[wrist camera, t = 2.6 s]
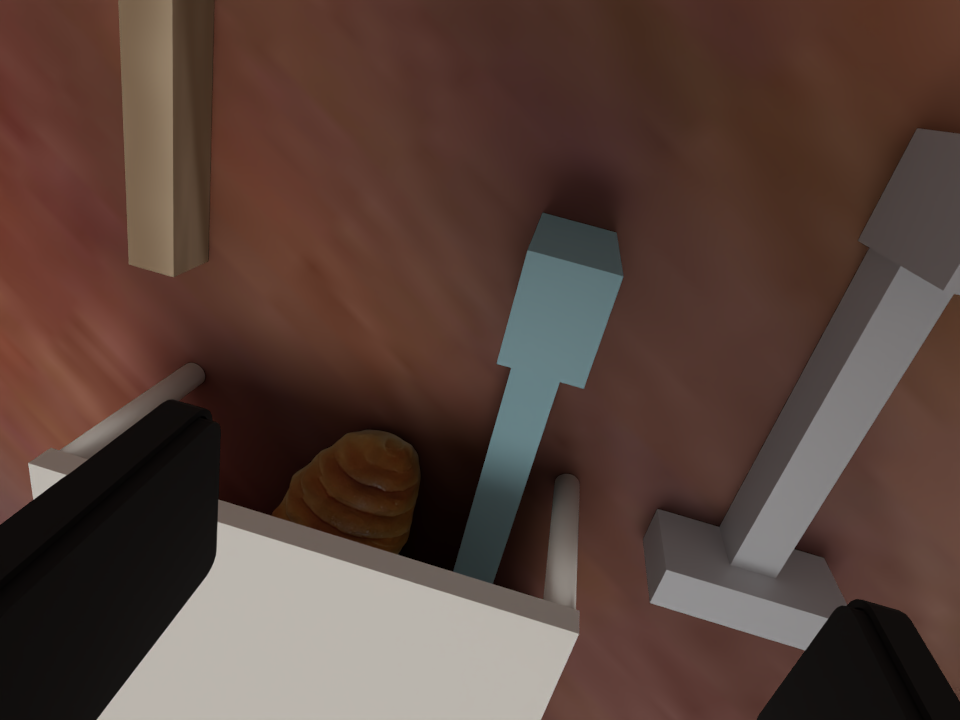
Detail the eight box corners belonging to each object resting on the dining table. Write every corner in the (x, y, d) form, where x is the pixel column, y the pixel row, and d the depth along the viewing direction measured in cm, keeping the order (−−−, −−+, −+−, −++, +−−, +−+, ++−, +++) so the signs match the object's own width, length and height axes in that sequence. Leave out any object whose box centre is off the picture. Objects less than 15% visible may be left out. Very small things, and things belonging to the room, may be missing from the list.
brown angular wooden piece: (232, -187, 20) (99, -288, 14) (218, 264, 27) (125, 308, 22) (149, -207, 20) (-14, -314, 15) (157, 246, 27) (49, 286, 22)
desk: (583, 478, 28) (579, 634, 20) (495, 705, 36) (467, 884, 28) (182, 359, 29) (28, 463, 21) (182, 605, 37) (68, 748, 29)
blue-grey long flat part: (616, 232, 23) (623, 276, 18) (472, 660, 35) (450, 765, 29) (315, 150, 24) (235, 169, 19) (271, 597, 36) (213, 688, 30)
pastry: (339, 392, 29) (305, 433, 26) (458, 459, 29) (442, 509, 26) (275, 516, 33) (239, 566, 30) (382, 574, 34) (358, 629, 30)
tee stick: (1081, 169, 20) (1261, 200, 15) (804, 587, 29) (852, 703, 23) (843, 109, 20) (934, 118, 15) (642, 539, 29) (654, 641, 24)
